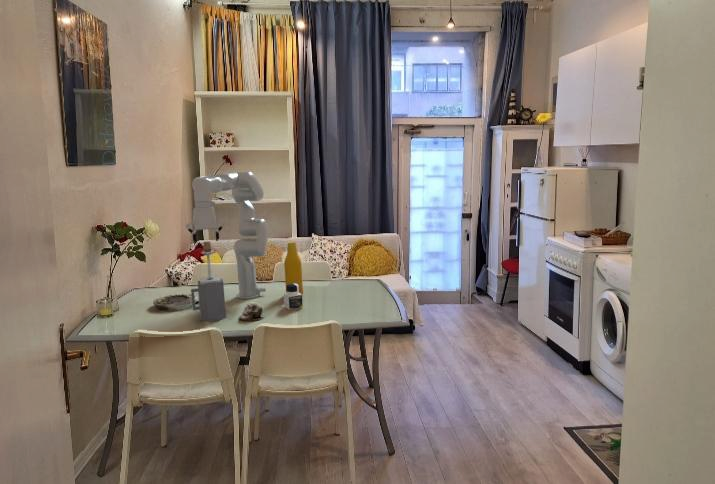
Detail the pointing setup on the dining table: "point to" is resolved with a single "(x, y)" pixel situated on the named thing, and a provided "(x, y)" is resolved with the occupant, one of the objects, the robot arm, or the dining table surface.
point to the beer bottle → (293, 267)
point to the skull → (252, 312)
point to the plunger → (208, 251)
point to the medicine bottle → (293, 297)
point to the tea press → (210, 299)
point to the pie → (175, 302)
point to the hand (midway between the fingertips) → (206, 241)
